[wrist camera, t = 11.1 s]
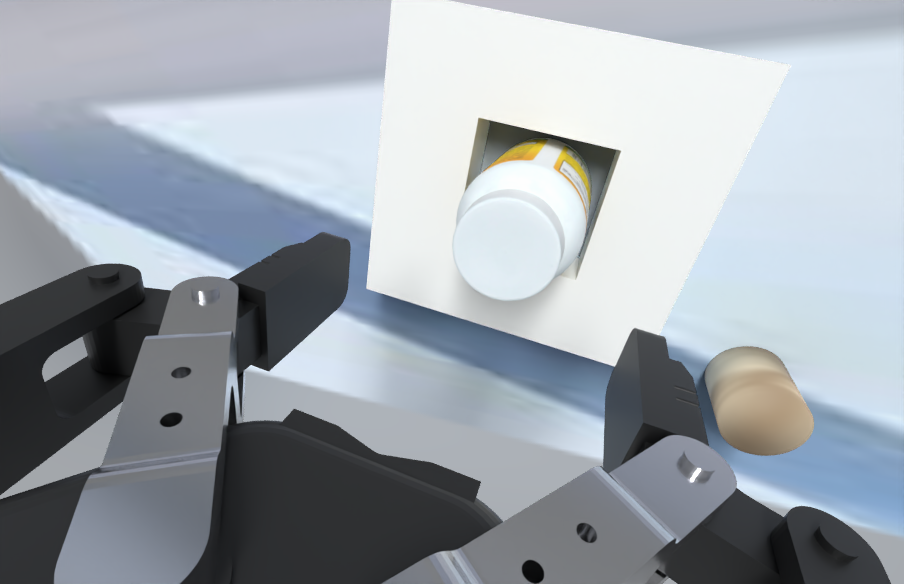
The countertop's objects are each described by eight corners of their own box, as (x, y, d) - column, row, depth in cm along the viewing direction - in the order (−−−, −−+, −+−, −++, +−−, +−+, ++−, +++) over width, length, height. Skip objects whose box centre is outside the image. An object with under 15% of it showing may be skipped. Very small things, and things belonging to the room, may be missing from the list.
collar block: (767, 63, 19) (791, 65, 17) (636, 344, 27) (640, 374, 24) (417, -3, 22) (392, -10, 20) (387, 268, 30) (366, 288, 27)
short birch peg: (801, 360, 25) (832, 409, 21) (762, 413, 27) (785, 466, 23) (724, 336, 25) (742, 380, 22) (692, 390, 27) (703, 438, 24)
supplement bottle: (609, 157, 23) (611, 213, 15) (566, 249, 26) (548, 339, 17) (509, 120, 24) (457, 154, 15) (477, 214, 26) (419, 286, 18)
